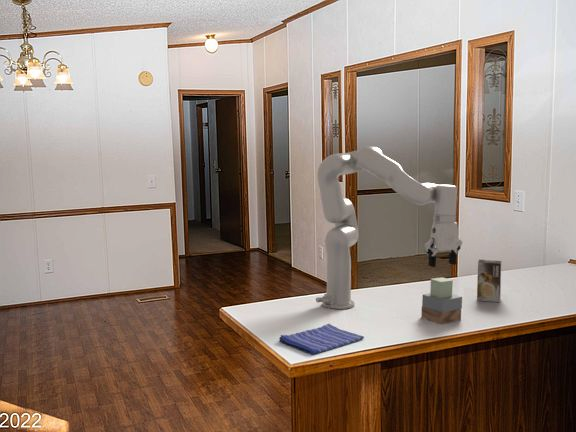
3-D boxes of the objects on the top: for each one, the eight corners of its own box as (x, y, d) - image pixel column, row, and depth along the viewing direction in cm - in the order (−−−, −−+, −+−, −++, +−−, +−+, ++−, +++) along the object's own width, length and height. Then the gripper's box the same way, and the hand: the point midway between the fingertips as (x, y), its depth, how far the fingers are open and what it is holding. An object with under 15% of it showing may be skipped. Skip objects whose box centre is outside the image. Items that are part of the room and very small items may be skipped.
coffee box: (500, 298, 255) (502, 260, 253) (499, 302, 249) (501, 263, 247) (477, 296, 258) (479, 259, 256) (476, 300, 252) (477, 261, 250)
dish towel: (276, 343, 202) (276, 334, 202) (328, 328, 218) (328, 320, 217) (312, 357, 190) (312, 348, 189) (364, 340, 205) (364, 332, 204)
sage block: (440, 298, 223) (441, 282, 222) (430, 294, 228) (430, 278, 227) (452, 296, 226) (452, 280, 225) (441, 293, 231) (442, 277, 230)
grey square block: (442, 312, 221) (442, 300, 220) (422, 306, 229) (422, 294, 228) (461, 308, 226) (462, 296, 225) (441, 302, 234) (441, 290, 234)
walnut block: (440, 325, 221) (440, 313, 220) (421, 318, 230) (421, 306, 229) (460, 321, 226) (461, 309, 225) (441, 314, 234) (442, 302, 234)
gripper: (433, 221, 216) (430, 269, 218) (470, 219, 224) (467, 265, 226) (419, 218, 222) (417, 265, 225) (455, 216, 230) (452, 261, 233)
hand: (442, 265), depth 225 cm, fingers open, 9 cm apart
